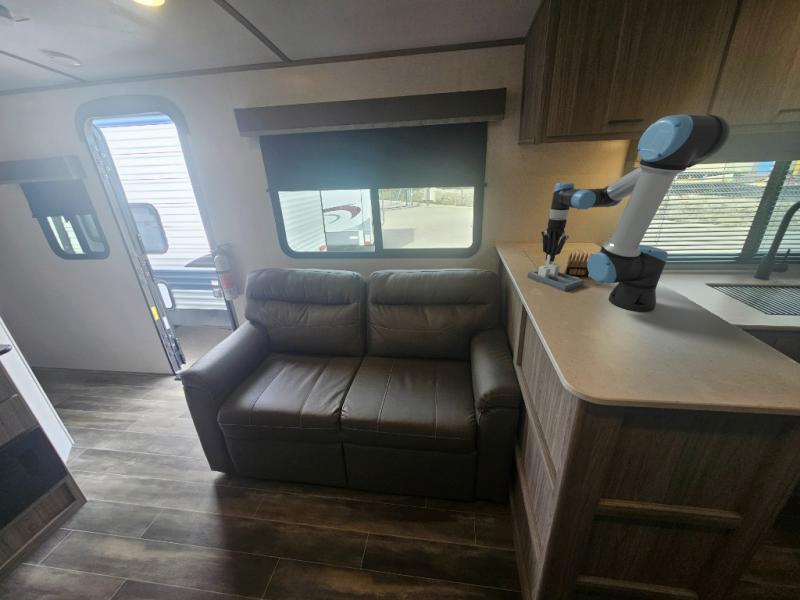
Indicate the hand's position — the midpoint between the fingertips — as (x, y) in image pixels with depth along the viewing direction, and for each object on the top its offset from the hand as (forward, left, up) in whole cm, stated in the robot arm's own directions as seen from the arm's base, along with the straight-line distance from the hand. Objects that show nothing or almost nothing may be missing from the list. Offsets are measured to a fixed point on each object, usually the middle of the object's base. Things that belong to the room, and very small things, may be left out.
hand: (548, 267), depth 148 cm
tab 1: (-3, +7, -3) cm, 8 cm away
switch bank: (-7, +3, -5) cm, 9 cm away
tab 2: (-3, 0, -3) cm, 4 cm away
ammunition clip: (-8, -12, -5) cm, 15 cm away
